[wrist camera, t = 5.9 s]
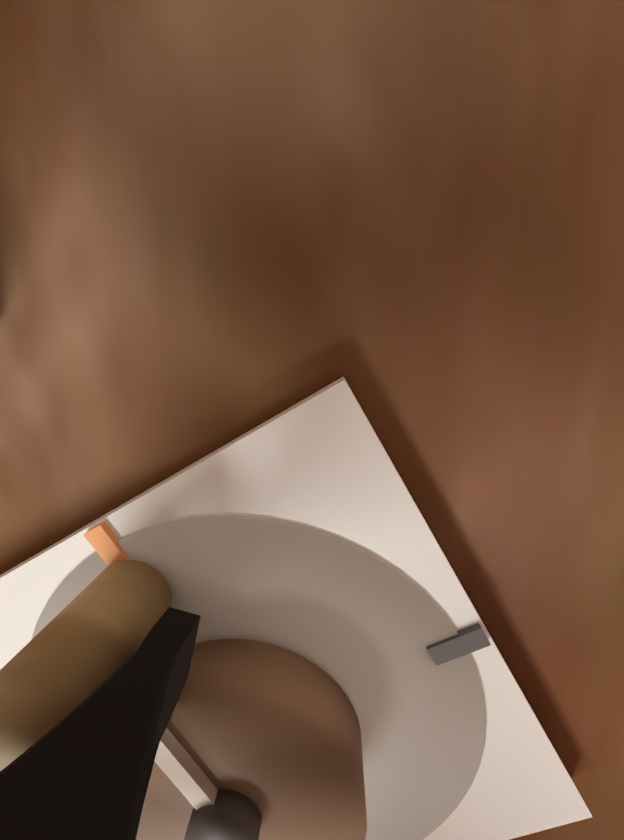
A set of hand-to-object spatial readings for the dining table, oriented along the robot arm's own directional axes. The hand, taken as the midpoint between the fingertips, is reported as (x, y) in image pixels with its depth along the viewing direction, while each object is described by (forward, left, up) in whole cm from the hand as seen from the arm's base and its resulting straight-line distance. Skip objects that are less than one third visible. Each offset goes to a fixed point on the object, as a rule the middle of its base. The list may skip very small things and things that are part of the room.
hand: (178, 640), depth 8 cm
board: (-5, +2, -3) cm, 6 cm away
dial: (-4, +2, -2) cm, 4 cm away
